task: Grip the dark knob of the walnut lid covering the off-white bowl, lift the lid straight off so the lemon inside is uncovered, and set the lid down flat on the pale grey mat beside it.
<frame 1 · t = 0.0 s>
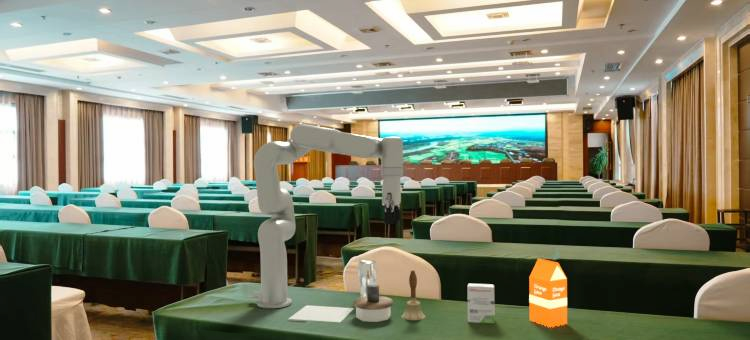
hand: (392, 222, 179), 31 cm above the table, tool pointing down, fingers open, 9 cm apart
hand bell: (413, 319, 171), on the table
mat: (322, 315, 176), on the table
bowl: (373, 318, 172), on the table, touching lemon, lid
ink box: (481, 321, 168), on the table
lid: (373, 304, 172), point 5 cm above the table, touching bowl
orange juice: (548, 322, 166), on the table
lemon: (373, 316, 172), point 1 cm above the table, touching bowl
beer glass: (367, 302, 192), on the table
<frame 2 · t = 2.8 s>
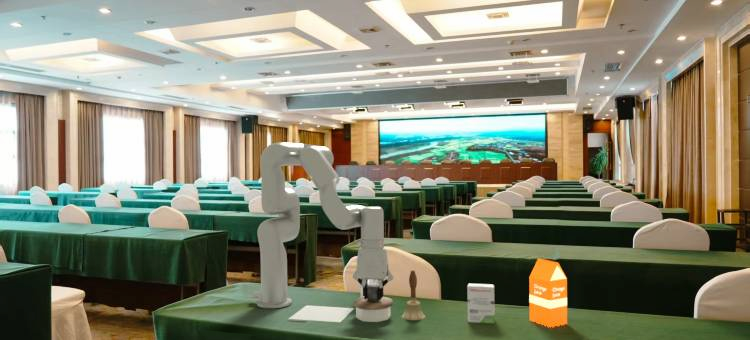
hand: (373, 298, 172), 7 cm above the table, tool pointing down, fingers closed on lid, 4 cm apart
lid: (373, 304, 172), point 5 cm above the table, touching bowl, gripper
everything else where it was.
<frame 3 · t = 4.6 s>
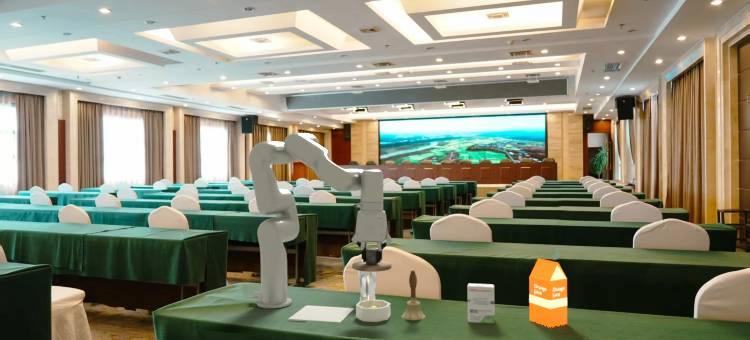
hand: (371, 261, 171), 19 cm above the table, tool pointing down, fingers closed on lid, 4 cm apart
bowl: (373, 319, 172), on the table, touching lemon
lid: (371, 267, 171), point 17 cm above the table, touching gripper
lemon: (373, 316, 172), point 1 cm above the table, tilted 10°, touching bowl
everything else where it was.
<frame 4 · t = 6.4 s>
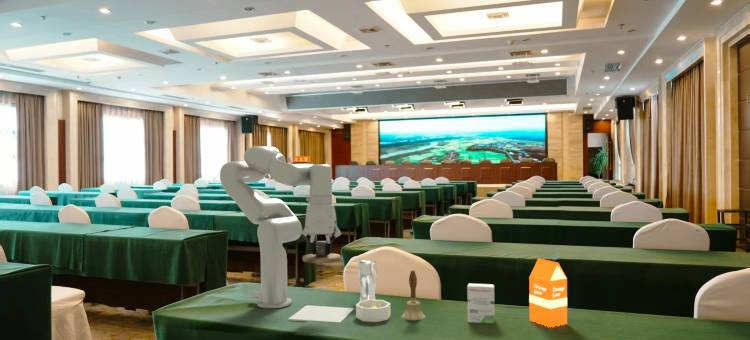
hand: (321, 253, 176), 21 cm above the table, tool pointing down, fingers closed on lid, 4 cm apart
lid: (321, 259, 176), point 19 cm above the table, touching gripper
lemon: (373, 316, 172), point 1 cm above the table, tilted 26°, touching bowl
everything else where it was.
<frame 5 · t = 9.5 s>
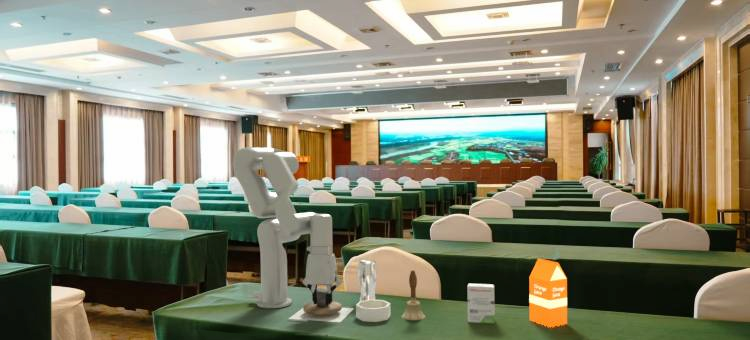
hand: (322, 303, 176), 4 cm above the table, tool pointing down, fingers closed on lid, 4 cm apart
lid: (322, 308, 176), point 2 cm above the table, touching gripper
lemon: (374, 312, 171), point 2 cm above the table, tilted 90°, touching bowl
everything else where it was.
when the fingers open (4 cm above the table, at t = 9.9 s): lid drops 1 cm, resting on mat.
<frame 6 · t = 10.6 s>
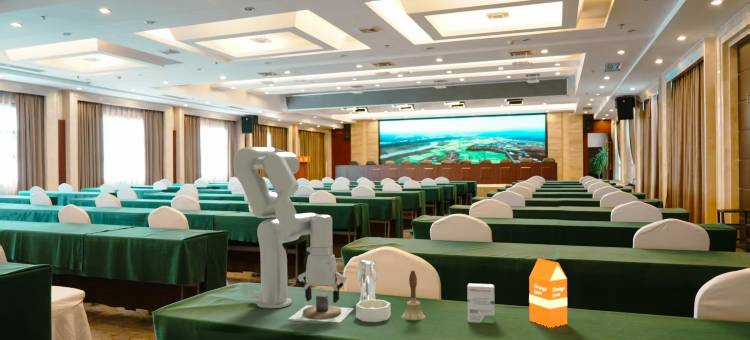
hand: (322, 301, 176), 5 cm above the table, tool pointing down, fingers open, 9 cm apart
lid: (322, 313, 176), point 1 cm above the table, touching mat
lemon: (371, 314, 171), point 1 cm above the table, tilted 51°, touching bowl
everything else where it was.
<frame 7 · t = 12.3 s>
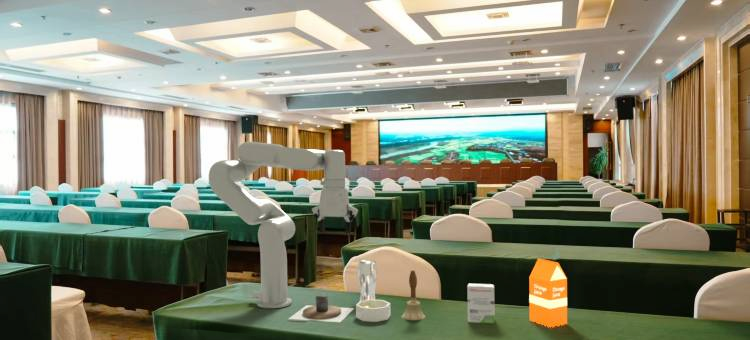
hand: (334, 232, 184), 27 cm above the table, tool pointing down, fingers open, 9 cm apart
lemon: (369, 315, 172), point 1 cm above the table, tilted 38°, touching bowl
everything else where it was.
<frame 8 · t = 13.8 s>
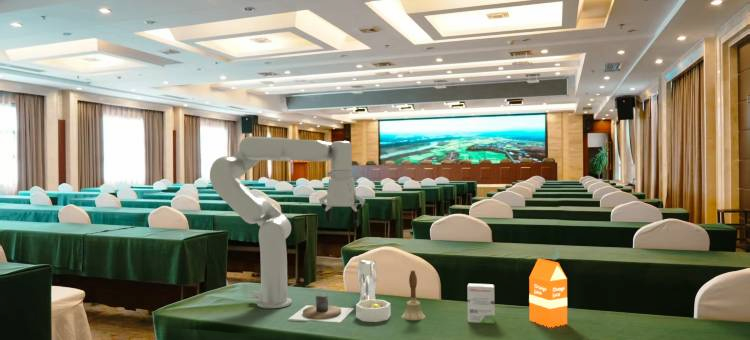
hand: (342, 221, 188), 30 cm above the table, tool pointing down, fingers open, 9 cm apart
lemon: (371, 311, 172), point 2 cm above the table, tilted 79°, touching bowl
everything else where it was.
at the end: lid inside the target area on the mat (0.1 cm from its centre), point 0.6 cm above the mat's base; lid tilted 0°; bowl moved 0.2 cm from its start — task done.
